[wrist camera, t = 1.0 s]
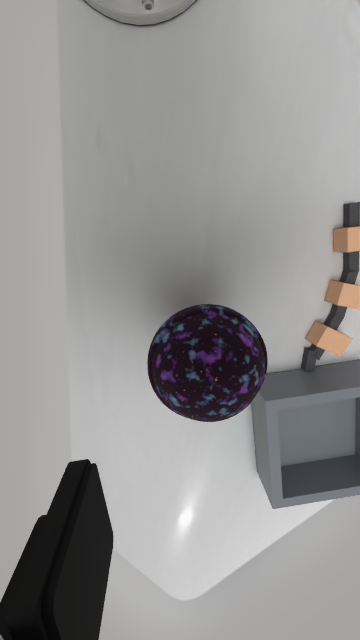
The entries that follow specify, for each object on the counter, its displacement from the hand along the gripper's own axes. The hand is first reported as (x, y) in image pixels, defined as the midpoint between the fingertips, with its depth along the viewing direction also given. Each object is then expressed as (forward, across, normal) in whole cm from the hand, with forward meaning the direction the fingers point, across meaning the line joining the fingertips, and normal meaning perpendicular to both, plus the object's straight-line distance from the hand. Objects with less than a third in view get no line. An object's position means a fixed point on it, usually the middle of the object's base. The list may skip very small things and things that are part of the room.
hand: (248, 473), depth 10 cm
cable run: (+20, -14, -1) cm, 25 cm away
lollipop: (+20, 0, 0) cm, 21 cm away
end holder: (+20, -11, +13) cm, 26 cm away
